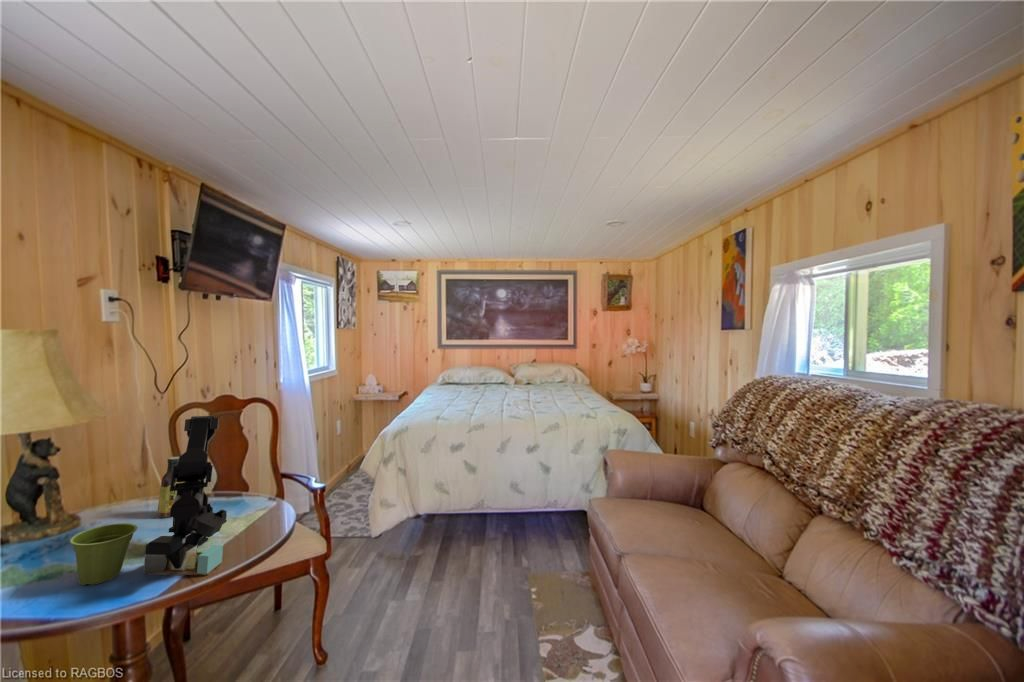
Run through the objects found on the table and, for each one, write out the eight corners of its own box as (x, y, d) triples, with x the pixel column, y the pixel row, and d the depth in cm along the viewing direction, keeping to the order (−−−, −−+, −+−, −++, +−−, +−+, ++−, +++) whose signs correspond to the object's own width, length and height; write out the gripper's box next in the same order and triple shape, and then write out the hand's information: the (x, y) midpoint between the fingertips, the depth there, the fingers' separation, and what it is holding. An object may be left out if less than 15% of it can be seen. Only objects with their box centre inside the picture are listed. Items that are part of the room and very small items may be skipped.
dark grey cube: (143, 572, 99) (145, 554, 99) (161, 560, 104) (162, 544, 104) (163, 572, 99) (165, 555, 99) (180, 561, 104) (181, 544, 105)
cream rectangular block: (149, 569, 100) (151, 551, 100) (162, 561, 103) (163, 544, 104) (193, 570, 100) (195, 552, 100) (204, 562, 104) (205, 545, 104)
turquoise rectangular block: (197, 573, 99) (198, 555, 100) (212, 561, 105) (213, 545, 105) (206, 573, 100) (208, 555, 100) (221, 561, 105) (223, 545, 105)
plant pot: (89, 595, 90) (94, 547, 90) (51, 587, 92) (56, 540, 92) (145, 568, 101) (149, 526, 102) (110, 561, 103) (114, 520, 104)
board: (144, 574, 99) (144, 571, 99) (160, 563, 104) (160, 561, 104) (207, 575, 100) (207, 572, 100) (220, 564, 105) (221, 562, 105)
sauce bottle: (169, 519, 129) (174, 461, 130) (151, 518, 130) (157, 460, 130) (186, 511, 136) (191, 456, 137) (169, 510, 136) (174, 455, 137)
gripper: (192, 521, 94) (187, 585, 93) (242, 494, 112) (237, 547, 112) (145, 520, 93) (140, 584, 92) (203, 492, 112) (198, 546, 111)
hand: (183, 564), depth 102 cm, fingers closed on cream rectangular block, 4 cm apart
